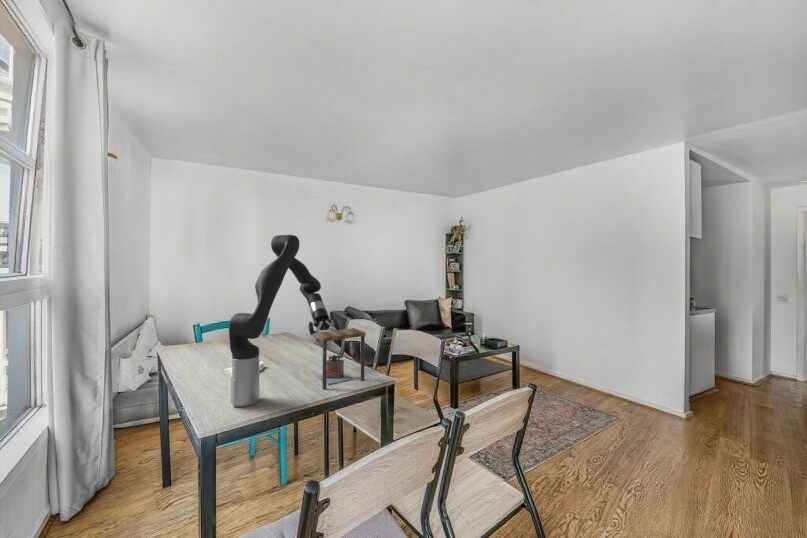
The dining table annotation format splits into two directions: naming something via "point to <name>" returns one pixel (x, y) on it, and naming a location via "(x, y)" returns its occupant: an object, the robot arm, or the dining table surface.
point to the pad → (336, 379)
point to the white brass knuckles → (229, 370)
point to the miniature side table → (336, 336)
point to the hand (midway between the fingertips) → (328, 339)
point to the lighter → (335, 367)
